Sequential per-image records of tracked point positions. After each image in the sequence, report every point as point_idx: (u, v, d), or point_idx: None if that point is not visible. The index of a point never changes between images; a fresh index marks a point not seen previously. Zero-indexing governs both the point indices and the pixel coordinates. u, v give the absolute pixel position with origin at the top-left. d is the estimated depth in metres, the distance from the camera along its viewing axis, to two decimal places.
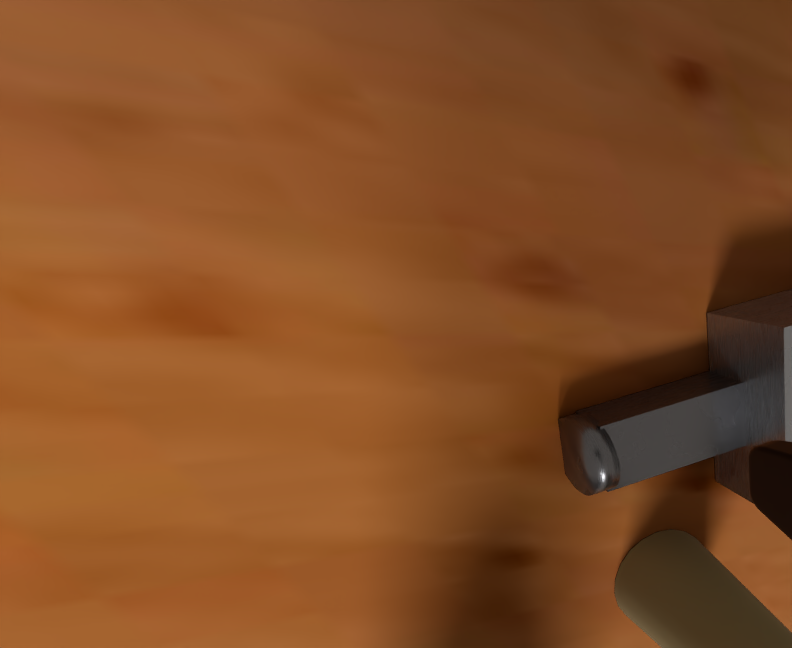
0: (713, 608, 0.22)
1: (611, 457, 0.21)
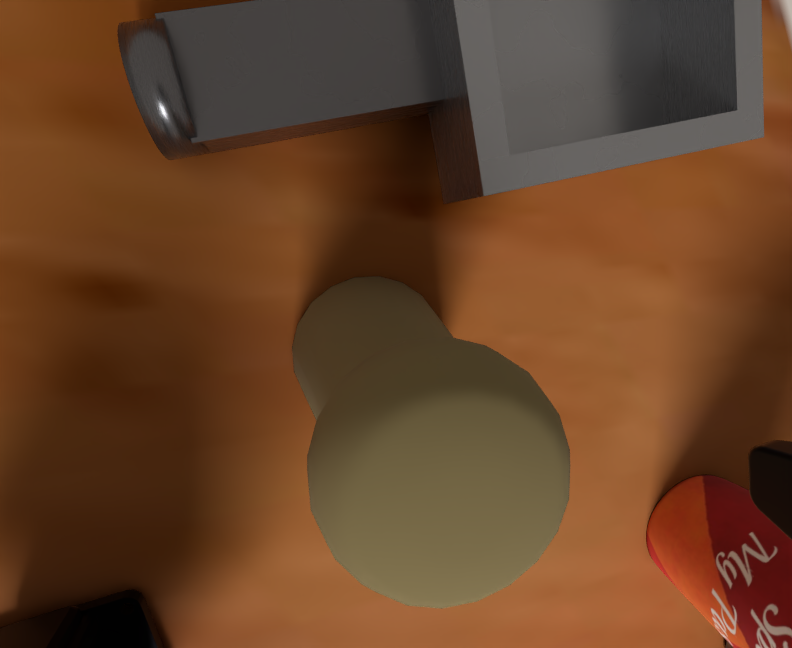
0: (350, 321, 0.13)
1: (155, 48, 0.13)
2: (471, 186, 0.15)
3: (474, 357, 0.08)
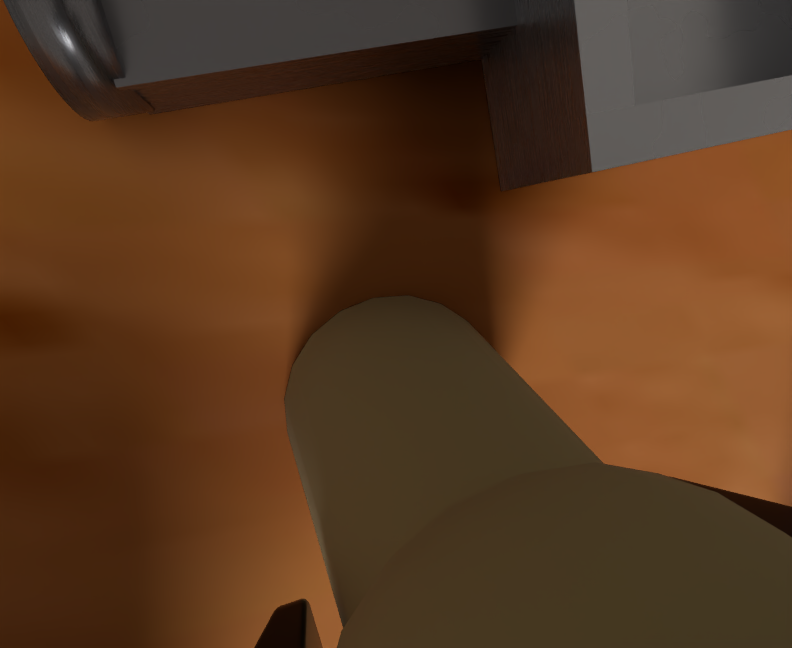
0: (378, 382, 0.08)
1: None
2: (563, 159, 0.09)
3: (777, 585, 0.03)
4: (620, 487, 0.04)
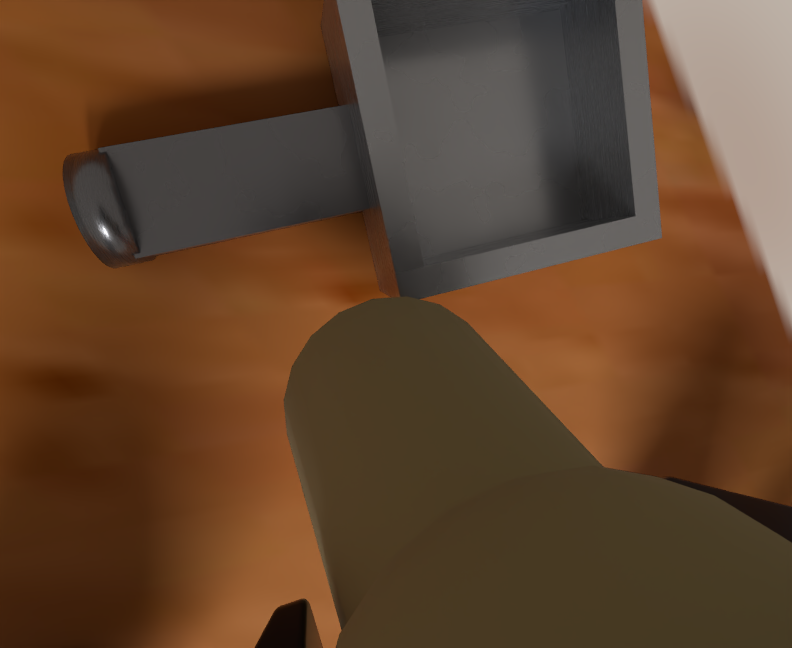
0: (377, 384, 0.08)
1: (96, 184, 0.14)
2: (393, 290, 0.16)
3: (774, 589, 0.03)
4: (618, 491, 0.04)
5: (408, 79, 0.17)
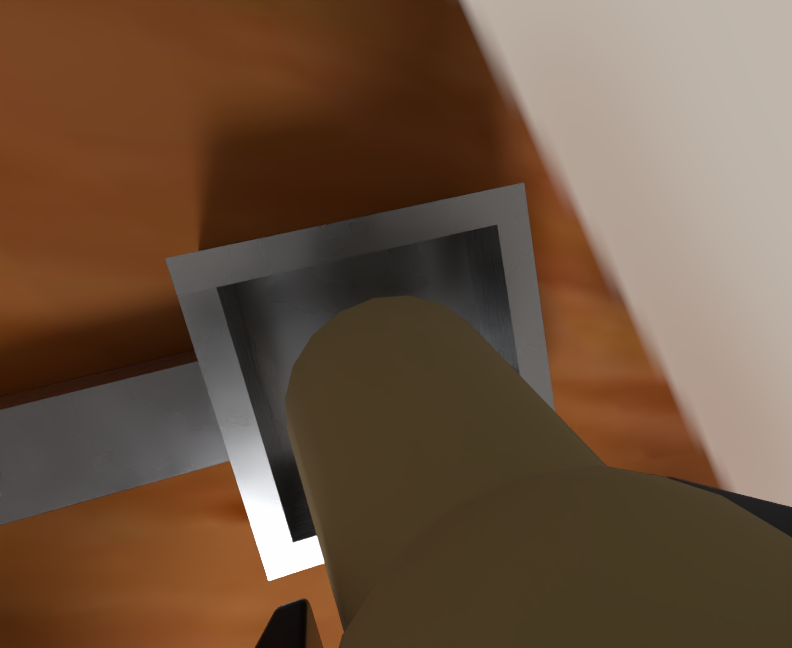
0: (379, 383, 0.08)
1: None
2: None
3: (786, 590, 0.03)
4: (624, 490, 0.04)
5: (292, 310, 0.16)
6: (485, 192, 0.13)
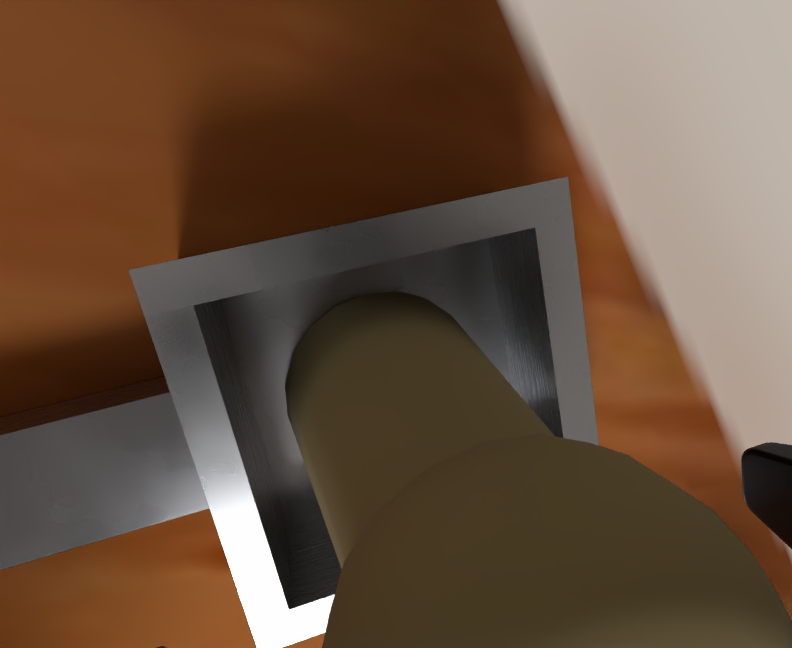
0: (370, 371, 0.09)
1: None
2: None
3: (647, 511, 0.04)
4: (552, 450, 0.05)
5: (288, 328, 0.13)
6: (521, 188, 0.11)
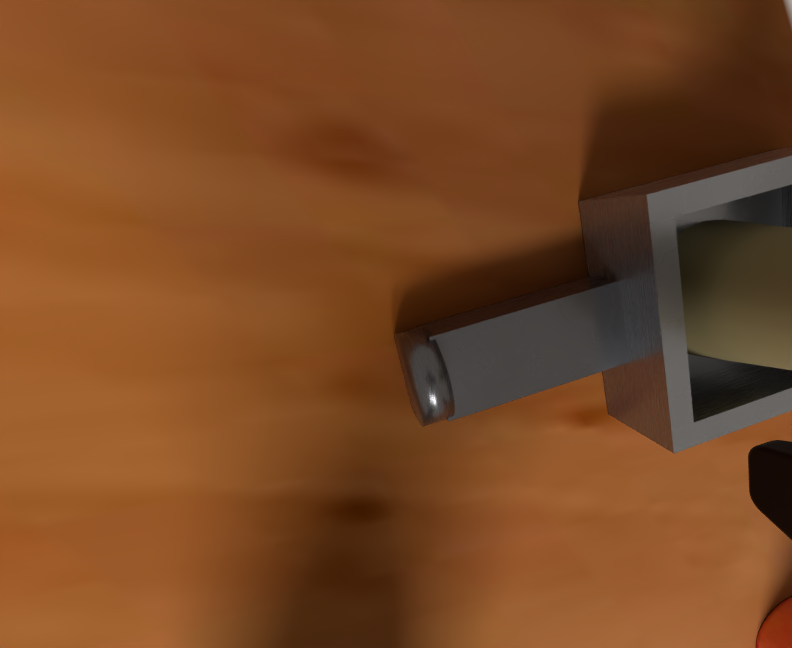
0: None
1: (439, 373, 0.17)
2: (656, 435, 0.19)
3: None
4: None
5: None
6: None
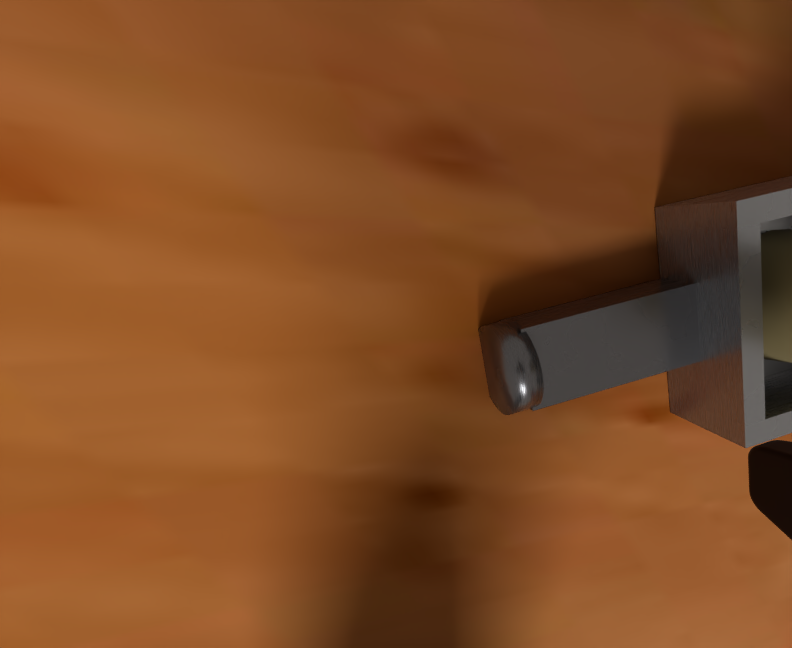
0: None
1: (532, 363, 0.18)
2: (726, 431, 0.20)
3: None
4: None
5: None
6: None
